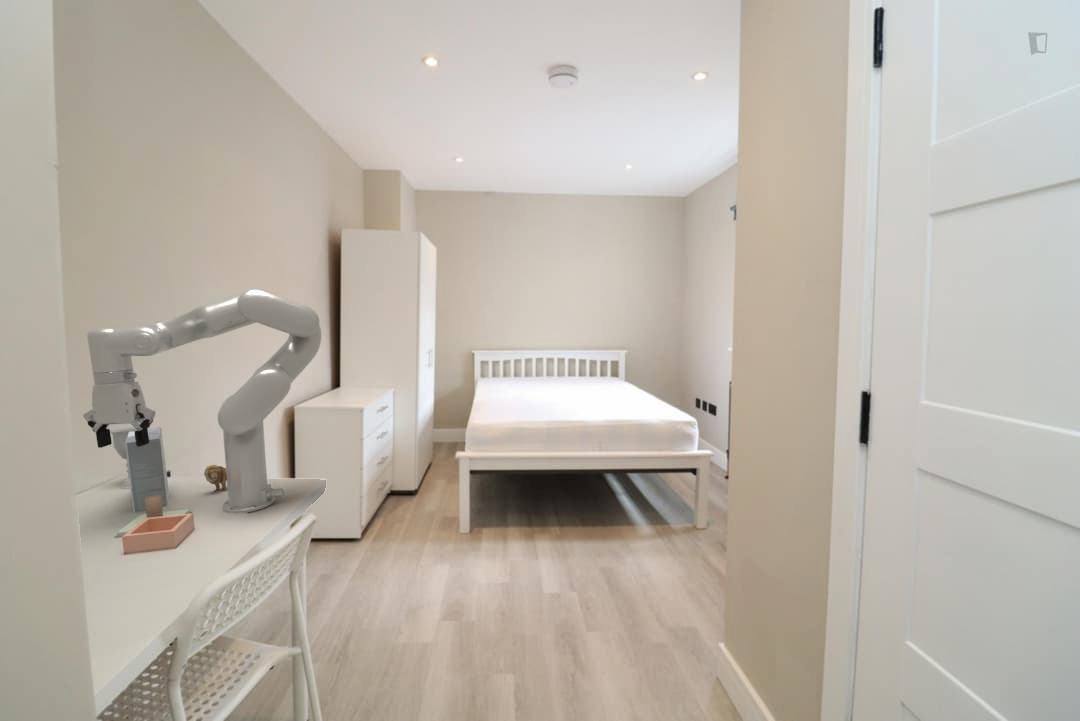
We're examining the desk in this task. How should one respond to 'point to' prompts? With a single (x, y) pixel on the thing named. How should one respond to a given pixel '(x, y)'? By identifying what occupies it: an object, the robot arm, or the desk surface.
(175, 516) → the dish
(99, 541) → the desk surface
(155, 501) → the lid
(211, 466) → the lion figurine
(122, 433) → the chalice
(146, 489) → the hard drive box
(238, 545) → the desk surface
